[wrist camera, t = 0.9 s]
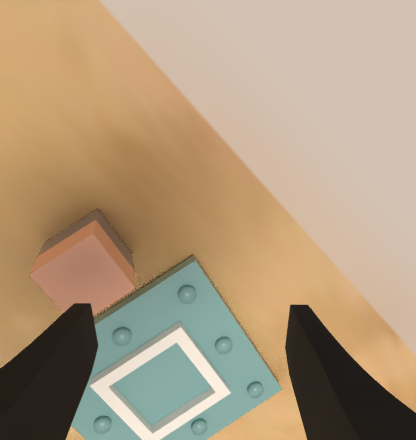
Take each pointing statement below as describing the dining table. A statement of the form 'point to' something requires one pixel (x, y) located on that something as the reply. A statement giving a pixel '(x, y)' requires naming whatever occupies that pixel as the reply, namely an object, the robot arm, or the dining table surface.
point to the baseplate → (171, 364)
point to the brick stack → (85, 265)
